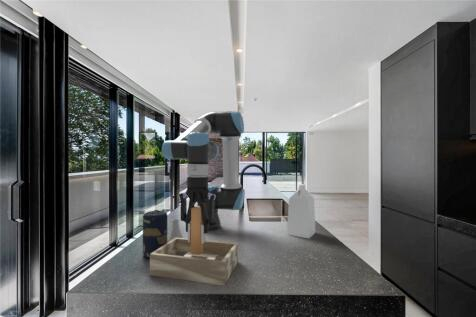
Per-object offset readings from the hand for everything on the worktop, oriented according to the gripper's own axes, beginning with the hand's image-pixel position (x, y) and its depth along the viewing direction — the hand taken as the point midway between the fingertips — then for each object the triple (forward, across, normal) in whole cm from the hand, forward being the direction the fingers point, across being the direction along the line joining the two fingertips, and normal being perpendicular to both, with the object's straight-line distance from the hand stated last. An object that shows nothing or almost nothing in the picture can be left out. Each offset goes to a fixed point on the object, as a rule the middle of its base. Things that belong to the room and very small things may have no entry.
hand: (196, 241), depth 89 cm
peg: (+4, 0, 0) cm, 4 cm away
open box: (+9, 0, 0) cm, 9 cm away
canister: (+10, -21, +7) cm, 24 cm away
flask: (+10, -21, +24) cm, 33 cm away
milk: (+9, +37, +53) cm, 65 cm away
